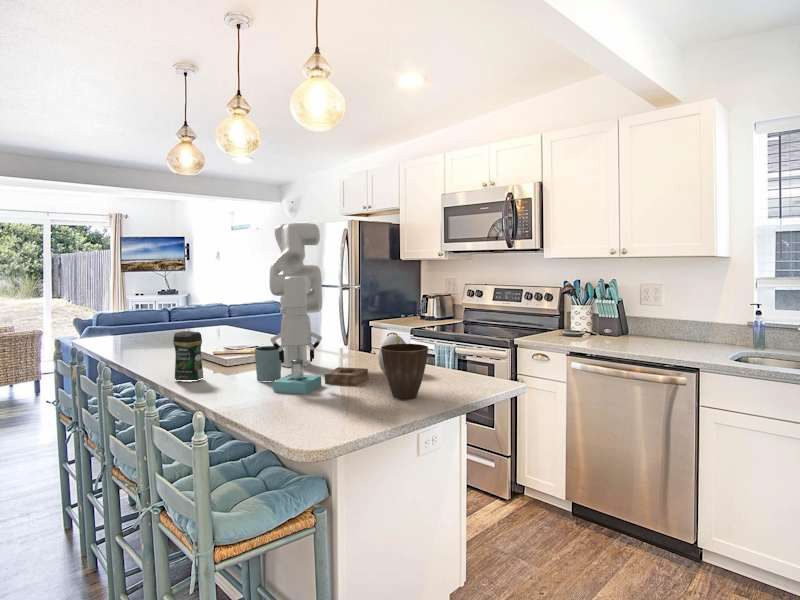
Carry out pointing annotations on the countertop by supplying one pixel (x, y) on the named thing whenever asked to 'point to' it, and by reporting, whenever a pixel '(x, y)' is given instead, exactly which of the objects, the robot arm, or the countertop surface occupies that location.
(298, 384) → the socket block
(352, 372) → the mount block
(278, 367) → the grey-blue cup
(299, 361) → the pin
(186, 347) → the coffee jar
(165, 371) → the countertop surface
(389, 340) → the decorative egg
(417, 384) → the plant pot
